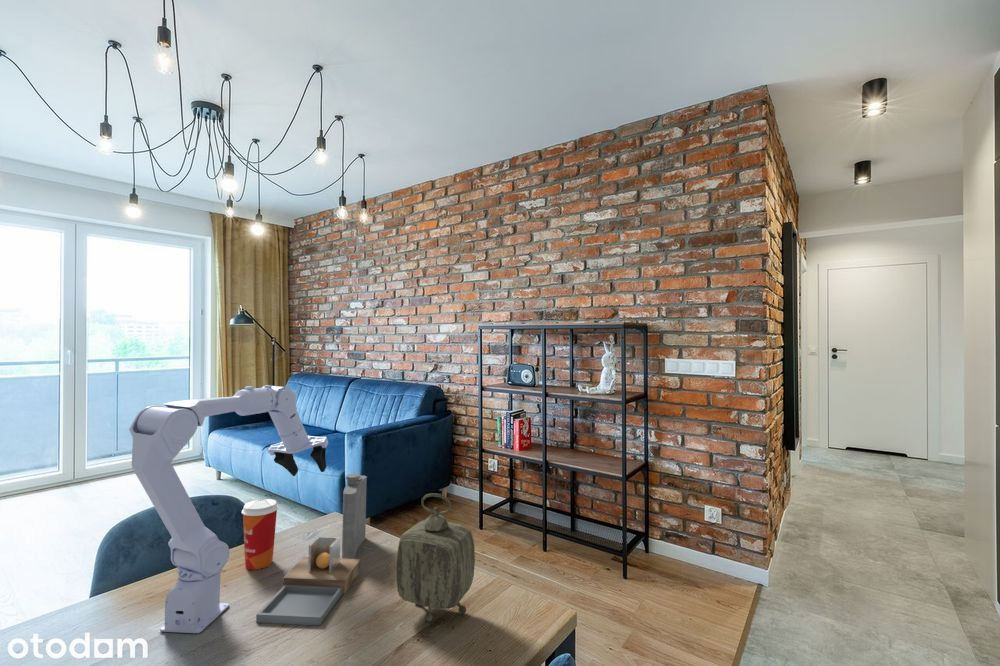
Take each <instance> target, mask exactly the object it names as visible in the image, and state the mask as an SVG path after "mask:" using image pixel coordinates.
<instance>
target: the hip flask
mask: <svg viewBox="0 0 1000 666" xmlns="http://www.w3.org/2000/svg"><path fill="white" fill-rule="evenodd" d="M345 478H346V485H345V487H344V489H343V492H342V494H343V495H342V496H343V497H342V501H343V502H342V531H341V532H342V533H341V535H342V536H341V538H342V539H341V540H342V541H341V542H342V543H341V544H342V545H341V547H342V548H341V559H356V555H357V552H358V550H359V548H360V546H361V545H362V543H363V542H364V541H365V540H366V530H367V529H366V528H367V527H366V525H367V522H366V520H367V481H368V480H367V479H368V476H366V475H361V474H360V473H350V474H346V476H345Z"/></svg>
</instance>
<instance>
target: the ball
mask: <svg viewBox="0 0 1000 666" xmlns="http://www.w3.org/2000/svg"><path fill="white" fill-rule="evenodd" d="M329 559H330V554H329V553H326V552H324V553H321V554H320V555H319V556H318V557H317V559H316V564H317V566H318V567H319V568H322V569H323V568H327V567H328V566H329Z"/></svg>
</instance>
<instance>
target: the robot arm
mask: <svg viewBox="0 0 1000 666" xmlns="http://www.w3.org/2000/svg"><path fill="white" fill-rule="evenodd" d="M296 401H297V394H296V391H293V390H292V389H291V388H289V386H278V385H270V384H269V385H268V384H266V385H264V386H262V387H257V388H256V387H255V386H253V385H252V386H250V385H249V386H244V389H239V390H237V391H236V392H235V393H234V395H233V396H224V397H222V396H221V397H208V398H195V399H185V400H175V401H169V402H165V403H162V404H161V405H157V404H156V405H154V404H153V405H149V406H146V407H144V408H142V409H141V410H140V411H139V412H138V413H137V415H136V416H135V418H134V420H133V421H132V423H131V425H130V427H129V428H128V430H129V433H130V435H131V436H132V453H131V467H132V470H133V472H134V474H135V475H136V477H137V479H138V481H139V482H140V484H141V486H142V488H143V490H144V491H145V493H146V495H147V496H148V498H149V500H150V502H151V503H152V505H153V507H154V509H155V511H156V512H157V514H158V516H159V517H160V519H161V521H162V523H163V524H164V526H165V528H166V530H167V531H168V533H169V535H170V536H171V538H170V539H169V541H168V544H167V545H168V546H169V548H170V562H171V563H172V565H174V566H175V567H177V570H176V572H177V580H176V584H175V585H174V586H173V588H172V589H171V590H170V591H168V593H167V594H166V597H165V601H164V625H163V626H161V627H160V629H159V631H160V632H165V633H184V634H199V633H202V632H203V630H205V629H206V628H207V627H208V626H209V625H210V624H211V623H213V622H214V621H215V620H216V618H218V617H219V616H220V615H221V614H222V613H224V611H225V610H226V609H227V608H229V607H230V603H224V602H221V600H220V599H221V572H223V568H224V567H225V566H226V564H227V562H228V560H229V557H230V547H229V545H228V544H227V543H226V542H224V541H221V539H219V538H218V536H217V534H215V533H214V532H213V531H212V530H211V529H209V528H208V527H206V526H205V524H204V523H203V521H202V519H201V517H200V515H199V513H198V511H197V510H196V507H195V506H194V505H195V504H193V501H192V500H191V498H190V495H189V494H188V493H187V490H186V489H185V487H184V484H183V483H182V481H181V479H180V477H179V476H178V473H177V471H176V470H175V468H174V466H173V464H172V462H173V460H174V459H175V458H176V457H177V456H178V454H180V452H181V451H182V450H183V448H184V447H185V446H186V445H187V443H188V442H189V441H190V440H191V439H192V438H193V436H194V435H195V434H196V432H197V429H198V427H202V426H203V425H204V421H205V419H206V417H207V418H208V417H211V416H216V415H222V414H223V415H224V414H228V413H234V412H235V413H236V415H239V416H241V417H243V416H244V417H245V416H251V415H256V414H263V413H268V414H269V416H270V419H271V421H272V422H273V425H274V427H275V429H276V431H277V433H278V436H279V437H280V440H281V442H278V443H275V444H271V445H270V447H269V448H268V449H267V451H268V453H269V455H270V456H274V458H273V462H274V463H276V464H278V465H280V466H281V467H283V468H284V469H286V471H287V472H288V473H290V474H291V476H293V477H295V476H296V475H297V473H298V471H299V468H298V465H297V463H296V461H295V458H294V454H298V453H300V452H303V451H306V450H309V449H312V451H311V453H310V457H311V458H312V459H313V460H314V461H315V463H316V465H317V468H318V470H319V471H320V472H321V473H324V472H325V470H326V468H327V461H326V460H327V459H326V451H327V446H328V445H329V441H328V437H327V436H311V435H308V433H307V431H306V428H305V427H304V425H303V422H302V420H301V417H300V415H299V412H298V410H297V409H298V408H297V404H296ZM162 405H163V406H162ZM164 406H165V407H164Z"/></svg>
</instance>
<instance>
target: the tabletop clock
mask: <svg viewBox="0 0 1000 666" xmlns="http://www.w3.org/2000/svg"><path fill="white" fill-rule="evenodd" d="M431 497H432V498H433V497H434V498H440V499H443V500H444V501H445V502H446V503H448V505H449V508H448V509H447V510H442V511H440V510H439V507H438V506H434V507H433V509H430V508H429V507H427V506H426V505H424V504H425V503H424V501H425V500H426V499H427V498H431ZM420 502H421V507H422V509H424V510H425V511H426V512H428V513H429V514H430V515H428V517H427V518H425V519H424V520H420V521H419V522H417V523H416V524H414V525H412V527H410V528H409V529H408V530H407V531H405V532H403V533H402V534H401V537H400V538H399V541H398V546H397V555H396V571H395V572H396V588H397V593H398V596H399V597H400V598H401V599H403V600H404V601H405V602H408V603H411V604H415V605H419V606H422V607H427V608H428V609H427V612H426V613H425V615H424V619H425V622H427V623H429V622H432V621H433V617H434V615H433V614H432V608H434V609H440V610H445V609H446V610H447V609H449V610H450V609H452V608H456V607H458V613H459V614H460V615H464V614H465V613H466V611H467V607H466V605H464V604H461V603H460V602H461V600H462V599H463V598H464V596H465V595H466V594H467V593H468V591H469V590H470V589H471V586H472V584H473V580H474V575H475V567H476V566H475V565H476V552H475V551H476V550H475V541H474V536H473V533H472V530H471V529H470V528H469V527H466V526H464V525H462V524H458V523H454V522H450V521H447V519H446V517H445V516H444V515H446V514H448V513H450V512H451V510H452V508H453V507H452V501H450V499H449V498H448V497H447V496H446V495H443V494H441V493H435V492H434V493H433V492H431V493H430V492H429V493H427V494H425V495H424V496H423V497H421V501H420Z"/></svg>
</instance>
